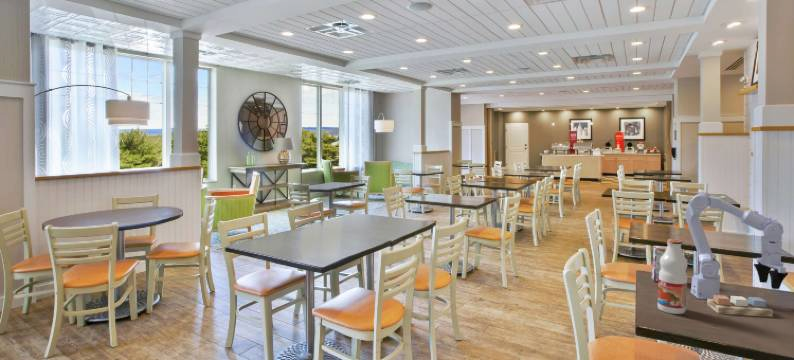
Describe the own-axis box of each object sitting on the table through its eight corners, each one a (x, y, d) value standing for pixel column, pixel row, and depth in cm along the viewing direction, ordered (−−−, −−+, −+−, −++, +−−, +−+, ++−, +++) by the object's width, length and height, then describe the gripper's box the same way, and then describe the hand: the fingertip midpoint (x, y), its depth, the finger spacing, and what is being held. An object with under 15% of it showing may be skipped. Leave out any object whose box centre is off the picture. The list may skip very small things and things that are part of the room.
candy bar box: (653, 282, 204) (655, 247, 203) (651, 279, 209) (652, 245, 208) (681, 284, 201) (683, 249, 199) (678, 281, 205) (680, 247, 204)
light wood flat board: (718, 313, 167) (718, 307, 167) (706, 304, 176) (707, 298, 176) (772, 317, 163) (772, 310, 163) (758, 307, 172) (758, 301, 172)
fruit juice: (691, 313, 167) (695, 242, 165) (670, 315, 166) (673, 243, 163) (672, 304, 177) (675, 236, 174) (651, 306, 175) (654, 238, 173)
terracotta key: (718, 304, 169) (718, 298, 169) (713, 300, 173) (713, 294, 173) (729, 305, 168) (730, 299, 168) (724, 301, 172) (724, 295, 172)
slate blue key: (753, 306, 167) (754, 300, 166) (747, 303, 171) (748, 296, 170) (765, 307, 166) (766, 301, 166) (759, 303, 170) (760, 297, 169)
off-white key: (735, 305, 168) (736, 299, 168) (730, 301, 172) (730, 295, 172) (747, 306, 167) (748, 300, 167) (741, 302, 171) (742, 296, 171)
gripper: (796, 257, 163) (793, 292, 164) (771, 247, 177) (769, 280, 178) (774, 256, 164) (772, 291, 165) (751, 246, 178) (749, 279, 179)
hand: (769, 285), depth 172 cm, fingers open, 7 cm apart
